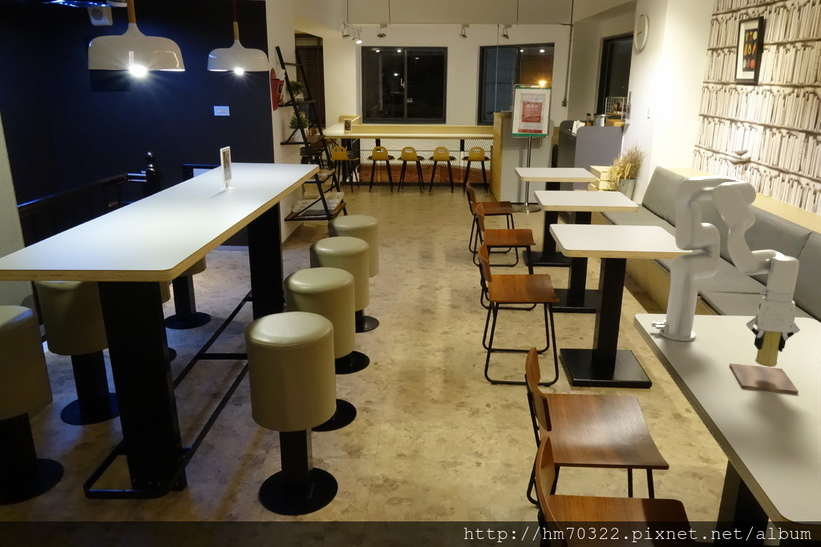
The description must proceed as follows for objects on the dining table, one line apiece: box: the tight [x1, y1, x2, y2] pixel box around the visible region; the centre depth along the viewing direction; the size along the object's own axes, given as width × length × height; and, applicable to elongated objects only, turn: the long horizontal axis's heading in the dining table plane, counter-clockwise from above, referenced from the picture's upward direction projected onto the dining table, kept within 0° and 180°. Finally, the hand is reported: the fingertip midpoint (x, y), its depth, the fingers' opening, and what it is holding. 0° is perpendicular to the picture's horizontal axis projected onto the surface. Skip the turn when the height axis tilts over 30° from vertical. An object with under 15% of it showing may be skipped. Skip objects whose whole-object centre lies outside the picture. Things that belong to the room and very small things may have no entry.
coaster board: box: [729, 362, 799, 395], centre depth 203 cm, size 16×16×1 cm
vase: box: [754, 331, 781, 368], centre depth 199 cm, size 6×6×14 cm
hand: (768, 348), depth 200 cm, fingers closed on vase, 5 cm apart
